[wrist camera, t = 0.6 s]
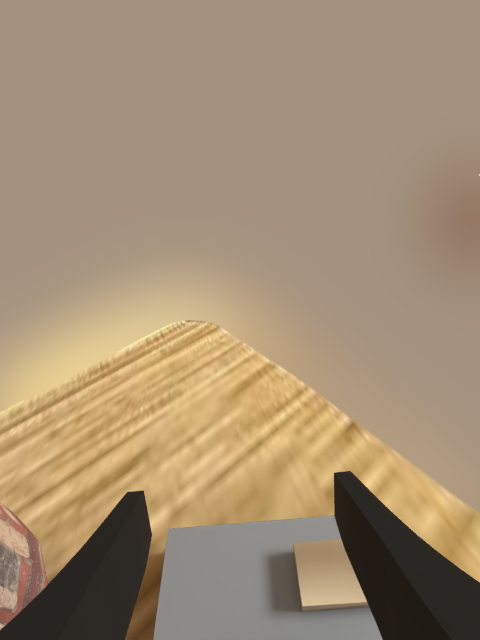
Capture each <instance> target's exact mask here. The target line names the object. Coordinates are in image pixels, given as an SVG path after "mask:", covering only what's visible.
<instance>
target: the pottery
mask: <svg viewBox="0 0 480 640" xmlns="http://www.w3.org/2000/svg"><path fill="white" fill-rule="evenodd" d="M46 586H47V578H46V572H45V566H44V561H43V555H42V549H41V546H40V544H39V541H38V539H37V538H36V537H35V536H34V535H33V534H32V533H31V532H30V530H29V529H28V528H27V527H26V526H25V525H24V524H23V522H22V521H21V520H20V519H19V518H18V517H17V516H16V515H15V514H14V513H13V512H12V511H10V510H9V509H8V508H7V507H5V506H4V505H3V504H1V503H0V630H1V629H2V628H3V627H4V626H5V625H6V624H7V623H8V622H10V621H11V620H12V619H13V618H14V617H15V616H16V615H17V614H18V613H20V612H21V611H22V610H23V609H24V608H25V607H26V606H27V605H28V604H29V603H30V602H31V601H32V600H33V599H34V598H35V597H36V596H37V595H38V594H39V593H40V592H41V591H42V590H43V589H44V588H45V587H46Z"/></svg>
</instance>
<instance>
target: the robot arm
mask: <svg viewBox="0 0 480 640" xmlns="http://www.w3.org/2000/svg"><path fill="white" fill-rule="evenodd" d="M334 503H335V520H336V523H337V527H338V530H339V533H340V536H341V539H342V542H343V546H344V549H345V551H346V553H347V556H348V558H349V561H350V563H351V565H352V568H353V570H354V572H355V575H356V577H357V579H358V582H359V584H360V586H361V589H362V591H363V593H364V596H365V598H366V601H367V603H368V605H369V608H370V610H371V612H372V615H373V617H374V619H375V622H376V624H377V626H378V629H379V631H380V634H381V637H382V639H383V640H480V583H479V582H478V581H477V580H475V579H474V578H472V577H471V576H469V575H468V574H467V573H465V572H464V571H462V570H461V569H460V568H458V567H457V566H456V565H454V564H453V563H452V562H450V561H449V560H448V559H446V558H445V557H444V556H442V555H441V554H440V553H438V552H437V551H436V550H435V549H433V548H432V547H431V546H430V545H429V544H427V543H426V542H425V541H424V540H423V539H421V538H420V537H419V536H418V535H417V534H416V533H414V532H413V531H412V530H411V529H410V528H409V527H408V526H406V525H405V524H404V523H403V522H402V521H401V520H400V519H399V518H398V517H397V516H395V515H394V514H393V513H392V512H391V511H390V510H389V509H388V508H387V507H386V506H385V505H384V504H383V503H382V502H381V501H380V500H379V499H378V498H377V497H376V496H375V495H374V494H373V493H372V492H370V490H369V489H368V488H367V487H366V486H365V485H364V484H363V483H362V482H361V481H360V480H359V479H358V478H357V477H356V476H355V475H354V474H353V473H352V472H350V471H347V472H337V473H334ZM151 537H152V533H151V528H150V522H149V517H148V511H147V506H146V501H145V495H144V491H135V492H127V493H126V494H125V496H124V497H123V498H122V499H121V500H120V502H119V503H118V504H117V505H116V507H115V508H114V509H113V510H112V512H111V513H110V514H109V515H108V517H107V518H106V519H105V520H104V522H103V523H102V524H101V525H100V526H99V528H98V529H97V530H96V531H95V532H94V534H93V535H92V536H91V537H90V538H89V540H88V541H87V542H86V543H85V544H84V546H83V547H82V548H81V549H80V550H79V551H78V552H77V554H76V555H75V556H74V557H73V558H72V559H71V560H70V561H69V562H68V563H67V565H66V566H65V567H64V568H63V569H62V570H61V571H60V572H59V573H58V575H57V576H56V577H55V578H54V579H53V580H52V581H51V582H50V583H49V584H48V585H47V586H46V587H45V588H44V589H43V590H42V591H41V592H40V593H39V594H38V595H37V596H36V597H35V598H34V599H33V600H32V601H31V602H30V603H29V604H28V605H27V606H26V607H25V608H24V609H23V610H22V611H21V612H20V613H18V614H17V615H16V616H15V617H14V618H13V619H12V620H11V621H10V622H8V623H7V624H6V625H5V626H4V627H3V628H2V629H1V630H0V640H125V637H126V633H127V630H128V627H129V623H130V620H131V616H132V613H133V610H134V606H135V603H136V600H137V596H138V593H139V589H140V586H141V582H142V579H143V576H144V572H145V568H146V564H147V559H148V554H149V548H150V542H151Z"/></svg>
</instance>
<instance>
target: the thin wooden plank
mask: <svg viewBox="0 0 480 640" xmlns="http://www.w3.org/2000/svg"><path fill="white" fill-rule="evenodd" d="M417 535H418V536H419V537H420V538H421V536H420V534H419V533H418V534H417ZM421 539H422V538H421ZM293 550H294V557H295V564H296V571H297V578H298V586H299V593H300V600H301V607H302V611H315V610H331V609H346V608H362V607H369V605H368V603H367V601H366V598H365V596H364V593H363V591H362V589H361V586H360V584H359V582H358V579H357V577H356V575H355V572H354V570H353V568H352V565H351V563H350V561H349V558H348V556H347V553H346V551H345V549H344V546H343V542H342V539H338V540H325V541H312V542H298V543H293Z"/></svg>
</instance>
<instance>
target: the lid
mask: <svg viewBox="0 0 480 640" xmlns="http://www.w3.org/2000/svg"><path fill="white" fill-rule="evenodd" d="M338 539H341V536H340V533H339V530H338V527H337V523H336V520H335V516H324V517H311V518H298V519H286V520H273V521H261V522H248V523H235V524H223V525H210V526H198V527H185V528H172V529H168V535H167V542H166V549H165V557H164V564H163V571H162V578H161V586H160V593H159V600H158V608H157V615H156V622H155V630H154V637H153V640H383V639H382V637H381V634H380V631H379V629H378V626H377V624H376V622H375V619H374V617H373V615H372V612H371V610H370V608H369V607H362V608H346V609H331V610H315V611H302V607H301V600H300V593H299V586H298V578H297V571H296V564H295V557H294V550H293V543H298V542H312V541H325V540H338Z"/></svg>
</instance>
